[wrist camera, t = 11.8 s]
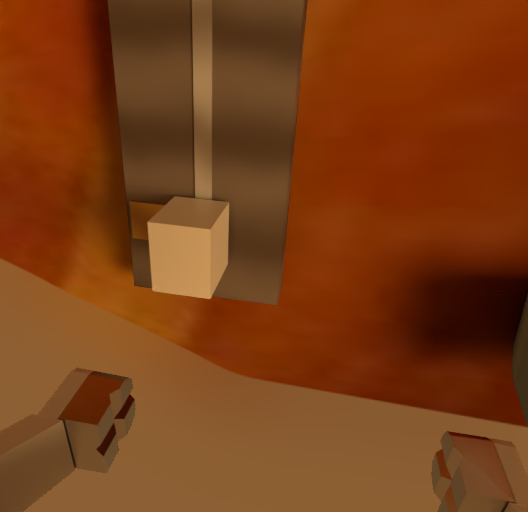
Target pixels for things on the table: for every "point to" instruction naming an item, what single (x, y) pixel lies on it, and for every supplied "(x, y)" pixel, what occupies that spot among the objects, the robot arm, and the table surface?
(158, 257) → the fader
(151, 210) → the track board
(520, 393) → the flower pot
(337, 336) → the table surface
